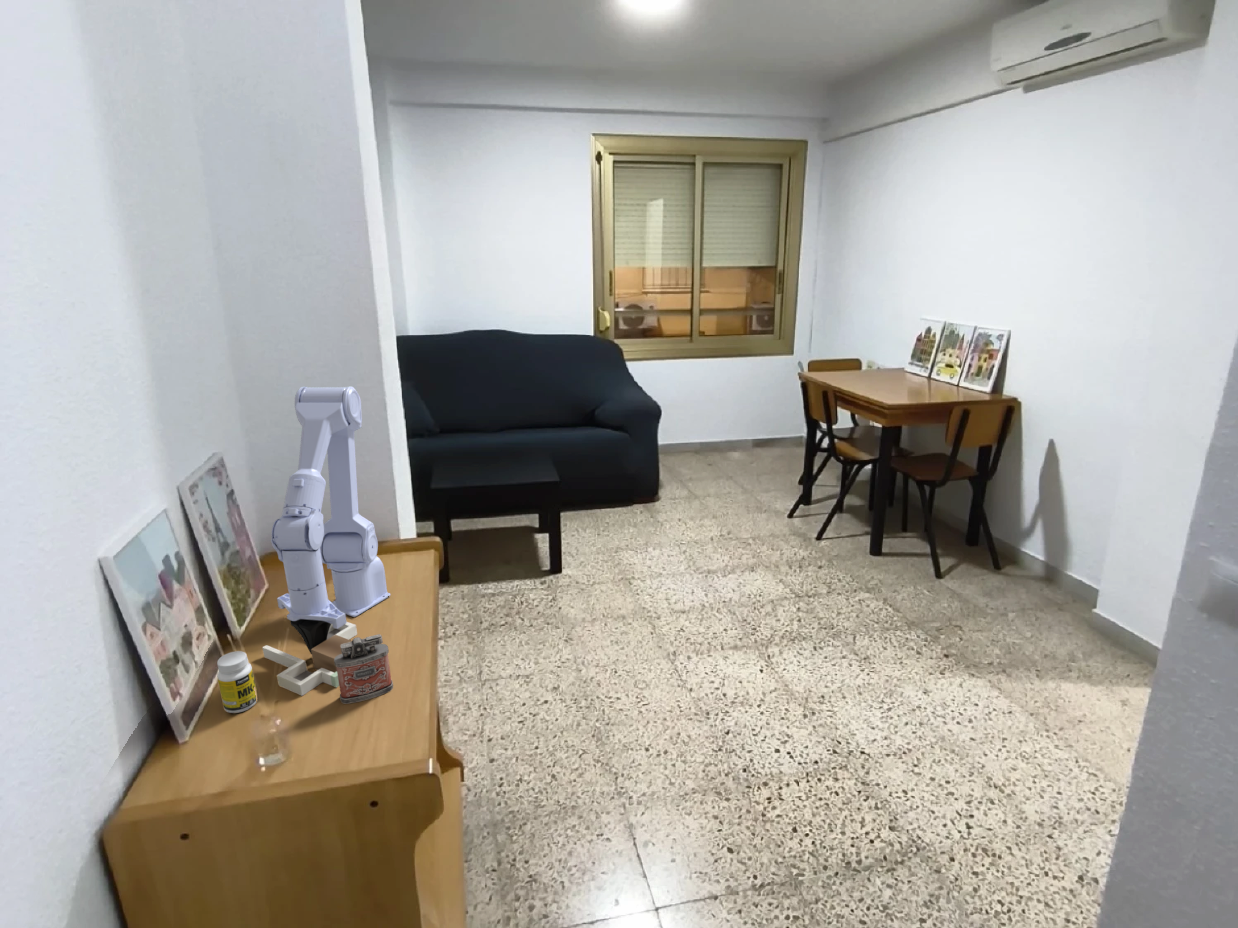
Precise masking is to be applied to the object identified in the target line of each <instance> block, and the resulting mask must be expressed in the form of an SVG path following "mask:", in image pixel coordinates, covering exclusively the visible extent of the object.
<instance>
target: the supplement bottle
mask: <svg viewBox="0 0 1238 928" xmlns="http://www.w3.org/2000/svg"><path fill="white" fill-rule="evenodd" d="M217 668H218V672H217V676H216V678H217V682H218V687H219V691H220V695H221V700H222V705H223V709H224V711H225V712H227V713H229V714H238V713H242V712H245V711H248V710H249V709H251V708H252V707H254V706H255V705H256V704H257V702H256V695H255V691H254V687H256V681H255V680H256V679H255V676H254V672H253V667H252V664H251V663H250V662H249V659H248V656H247V653H246V652H245V651H242V650H237V651H230V652H228V653H225V654H224V655H222V656H221V657H219V659H217ZM256 688H257V687H256Z"/></svg>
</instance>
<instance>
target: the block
mask: <svg viewBox="0 0 1238 928" xmlns="http://www.w3.org/2000/svg"><path fill="white" fill-rule="evenodd" d="M348 642H352V640H351V639H349V640H348V639H346V638H343V637H340V636H338V635H334V636H332V637H330V638H329V639H327V640H326V641H324V642H322V643H321V644H319V645H317V646H316V647H314V648H312V649H311V653H312V654H311V653H310V654H311V658H312V663H313V669H315V670H316V671H317V670H319V669H321V668H324V669H326V670H329V671H331V672H334V673H335V672H336V671H337V668H336V666H335V663H334V659H335V657H336V656H338V655H340V654H342V652H341V645H342V644H344V643H348Z"/></svg>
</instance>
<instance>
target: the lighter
mask: <svg viewBox="0 0 1238 928" xmlns="http://www.w3.org/2000/svg"><path fill="white" fill-rule="evenodd" d="M351 641H352V642H348V643H344V644H342V645H341V652H342V654H340V655H338V656H336V657H335V659H334V663H335V666H336V668H337V674H338V680H339V686H338V687H339V692H340V693H339V699H340V702H341V703H342V704H344V705H345V704H348V705H349V704H354V703H359V702H362V701H367V700H371V699H373V698H377V697H380V696H382V695H385V694H387V693H389V692H391V691H392V690H393V689H394V683H393V680H392V675H391V669H390V662H389V661H390V659H389V647H388V644H385V643H384V642H383V636H382V635H381V634H380V633H379V634H375V635H370V636H366V637H364V638H361V637H353V639H352V640H351Z"/></svg>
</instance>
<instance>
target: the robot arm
mask: <svg viewBox="0 0 1238 928" xmlns="http://www.w3.org/2000/svg"><path fill="white" fill-rule="evenodd" d="M294 410H295V414H296V418H297V420H298V422H299V424H300V426H301V435H300V436H301V437H300V445H299V457H298V466H297V467H298V468H297V470H296V471H295V472H294V473H292V474H291V475H290V476H289V477H288V481H287V487H286V493H285V496H284V497H285V498H284V501H283V502H284V503H283V507H282V512H281V516H280V517H279V518H277V519H276V520H275V521H274V522H273V525H272V527H271V539H270V542H271V545H272V547H273V549H274V550H275V551H276V553H277V556H278V560H279V561H280V562H282V563H283V567H284V574H285V580H286V585H287V590H288V592H287V593H285V594H283V595H281V596H278V597H277V598H276V600H277V606H278V608H279V609H280V610H281V609H282V610H284V609H286V610H287V611H288V614H287V615H286V617H287V620H289V621H290V622H289V624H290V626H292V627H293V628H294V629H295V630H296V631H297V632H298V634H299V635H300V637H301V639H302V640H303V642H304V644H305V645H306V648H307V649H308V651H309V654H310V655H312V653H311V649H312V648H314V647H316V646H317V645H319V644H321V643H322V642H324V641H326V640H327V635H328V631H329V628H330V626H331V624H333V627H334V628H336V629H338V628H339V627H341V626H343V625H344V624H346V623H347V622H348V621H347V616H350V617H354V618H355V617H358V616H359V615H361V614H362V613H364V612H366V611H367V610H370V608H371V609H372V607H374V606H376V605H378V604H379V603H381V602H382V601H384V600H386V599H388V598H389V597H391V593H390V592H388V589H387V588H388V587H387V580H386V579H387V578H386V572H385V567H384V566H385V565H384V563H383V561H382V560H381V558H380V557H378V555H377V554H378V549H379V548H378V547H379V542H378V538H377V534H376V531H375V530H376V529H375V524H374V523H373V522H372V521H370V520H368V519H367V518H365V517H364V516H362V515H361V514H360V513H359V499H358V495H359V494H358V480H357V478H358V477H357V463H356V461H357V460H356V442H355V441H356V440H355V431H358V430H360V429H361V428H362V423H363V413H362V400H361V397H360V394H359V392H358V390H356V389H355V387H354V386H350V385H349V386H338V387H337V386H334V387H333V386H325V387H323V386H320V387H319V386H317V387H316V386H314V387H313V386H311V387H309V386H300V387H299V389H298V390H297V391H296V393H295V397H294ZM326 455H327V466H328V486H329V487H328V488H329V501H330V515H331V516H330V517H331V518H329V519H328V520H326V521H325V522H324V514H323V513H322V507H323V502H324V496H325V492H326V491H325V490H326V485H327V481H326V479H325V478H324V477H323V476H322V474H321V473H322V469H323V467H324V463H325V461H326V460H325V459H326ZM323 564H324V565H326V568H327V570H331V571H330V572H331V577H332V584H333V585H332V586H333V590H334V596H335V597H334V598H335V600H333V601H331V600H329V596H328V591H327V584H326V579H325V572H324V566H323ZM388 596H389V597H388Z"/></svg>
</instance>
